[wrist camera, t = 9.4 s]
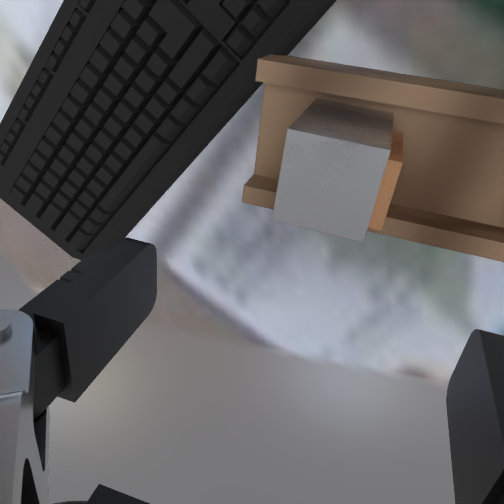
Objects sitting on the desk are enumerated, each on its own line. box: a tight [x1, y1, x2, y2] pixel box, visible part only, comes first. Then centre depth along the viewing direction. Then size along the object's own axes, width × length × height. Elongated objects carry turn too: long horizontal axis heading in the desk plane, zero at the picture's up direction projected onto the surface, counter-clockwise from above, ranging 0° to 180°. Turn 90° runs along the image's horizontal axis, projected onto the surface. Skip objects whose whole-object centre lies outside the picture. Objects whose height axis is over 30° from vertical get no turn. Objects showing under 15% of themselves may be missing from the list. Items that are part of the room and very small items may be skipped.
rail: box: [242, 54, 504, 262], centre depth 20 cm, size 22×8×8 cm, turn 83°
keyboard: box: [0, 0, 336, 260], centre depth 26 cm, size 30×11×2 cm, turn 137°
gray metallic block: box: [272, 98, 403, 242], centre depth 21 cm, size 4×5×7 cm
